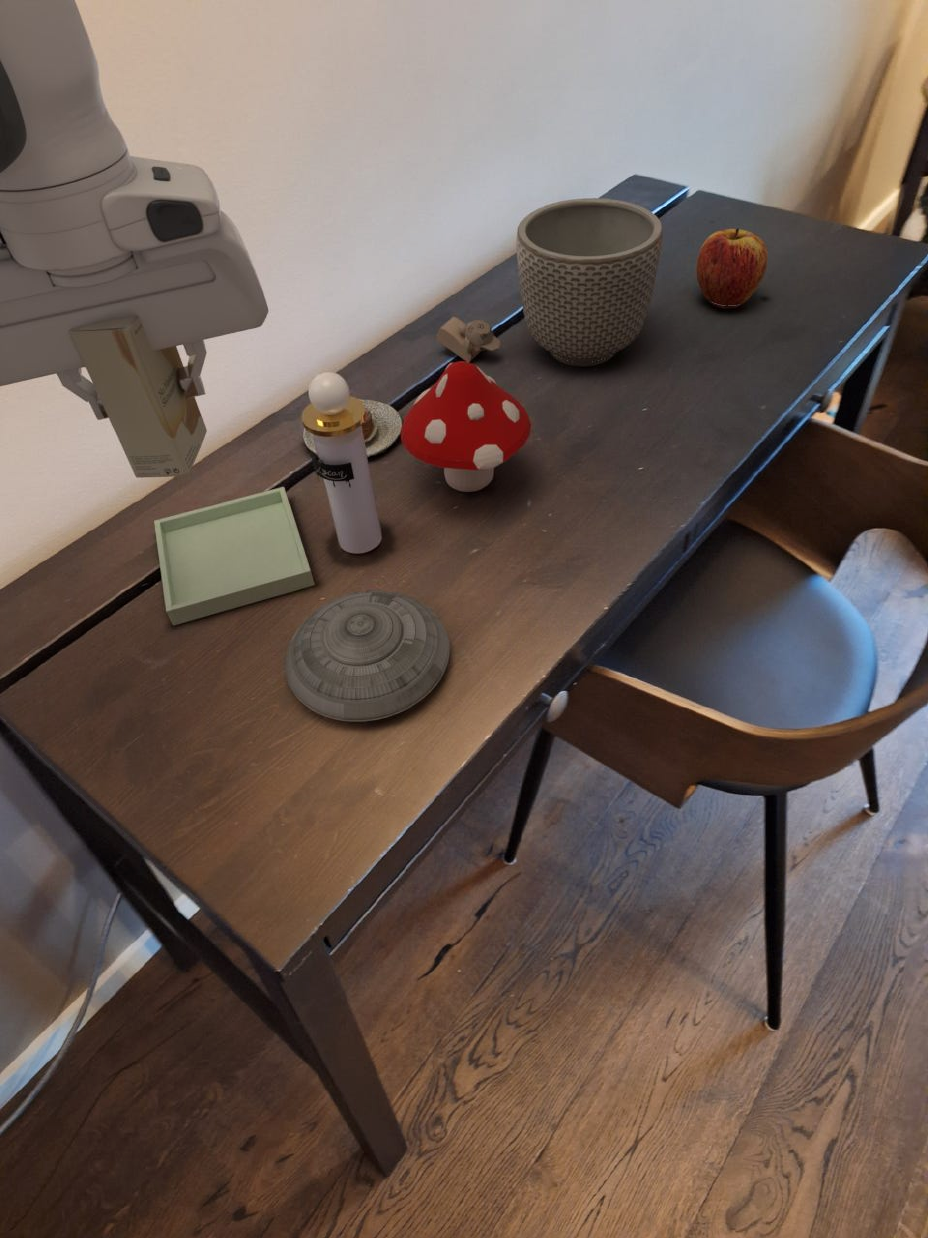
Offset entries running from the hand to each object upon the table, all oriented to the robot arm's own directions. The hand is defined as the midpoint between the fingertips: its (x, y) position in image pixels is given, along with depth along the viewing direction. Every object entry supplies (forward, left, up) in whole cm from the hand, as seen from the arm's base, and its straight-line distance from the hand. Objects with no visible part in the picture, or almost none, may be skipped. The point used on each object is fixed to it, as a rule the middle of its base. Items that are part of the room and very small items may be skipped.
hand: (152, 403), depth 61 cm
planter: (+51, +31, -25) cm, 64 cm away
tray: (+1, +9, -25) cm, 26 cm away
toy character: (+37, +36, -25) cm, 57 cm away
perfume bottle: (+14, +6, -25) cm, 29 cm away
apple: (+74, +34, -25) cm, 85 cm away
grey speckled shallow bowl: (+18, +25, -25) cm, 39 cm away
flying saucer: (+10, -10, -25) cm, 29 cm away
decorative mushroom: (+28, +11, -25) cm, 39 cm away
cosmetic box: (0, 0, -5) cm, 5 cm away
